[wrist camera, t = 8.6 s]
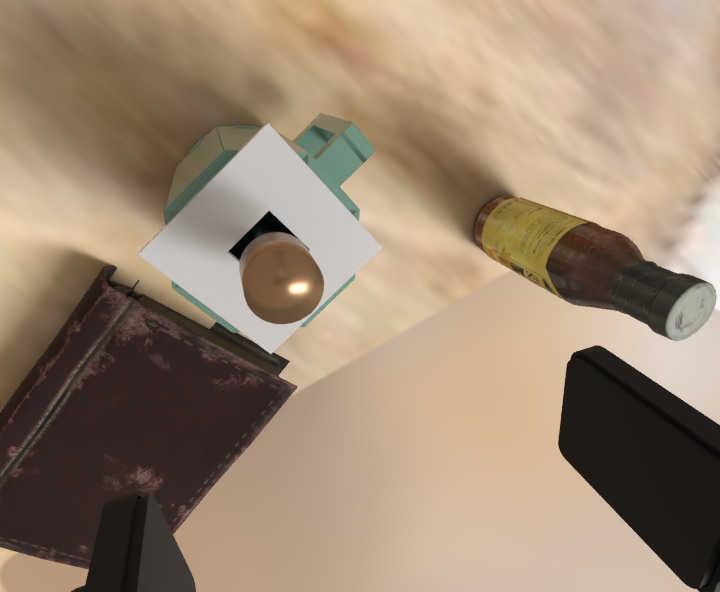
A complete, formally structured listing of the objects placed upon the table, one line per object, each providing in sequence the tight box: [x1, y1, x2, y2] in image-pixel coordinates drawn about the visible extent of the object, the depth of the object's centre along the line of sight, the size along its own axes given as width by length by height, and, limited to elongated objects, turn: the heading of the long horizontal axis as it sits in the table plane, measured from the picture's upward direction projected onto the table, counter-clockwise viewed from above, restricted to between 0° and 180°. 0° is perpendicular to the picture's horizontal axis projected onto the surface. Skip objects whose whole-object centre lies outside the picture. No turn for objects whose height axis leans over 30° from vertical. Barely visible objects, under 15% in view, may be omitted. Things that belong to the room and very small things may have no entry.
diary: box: [0, 266, 297, 569], centre depth 40 cm, size 19×25×5 cm
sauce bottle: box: [474, 196, 716, 341], centre depth 36 cm, size 6×6×20 cm
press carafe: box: [138, 113, 382, 354], centre depth 30 cm, size 10×13×14 cm
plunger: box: [229, 211, 324, 324], centre depth 26 cm, size 7×7×15 cm
